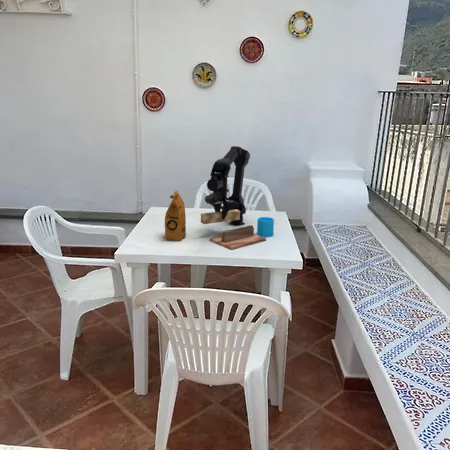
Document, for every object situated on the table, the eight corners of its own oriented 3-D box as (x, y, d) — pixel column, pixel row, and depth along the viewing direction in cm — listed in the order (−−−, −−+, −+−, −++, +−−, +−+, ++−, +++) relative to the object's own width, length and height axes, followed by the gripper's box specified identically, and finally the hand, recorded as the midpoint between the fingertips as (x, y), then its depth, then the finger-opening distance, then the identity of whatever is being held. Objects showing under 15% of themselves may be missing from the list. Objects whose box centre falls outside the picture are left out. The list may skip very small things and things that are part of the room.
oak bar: (203, 224, 213) (203, 215, 211) (200, 222, 216) (200, 213, 214) (239, 219, 222) (239, 211, 221) (236, 217, 225) (236, 209, 224)
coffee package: (161, 240, 209) (160, 195, 203) (168, 233, 221) (168, 189, 214) (182, 242, 207) (181, 196, 201) (188, 234, 219) (188, 190, 213)
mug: (272, 237, 217) (273, 221, 215) (255, 236, 219) (256, 220, 216) (274, 230, 228) (275, 215, 226) (258, 229, 230) (259, 214, 228)
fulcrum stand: (209, 240, 210) (209, 228, 209) (243, 232, 224) (243, 221, 222) (231, 249, 199) (232, 237, 197) (265, 240, 213) (266, 228, 211)
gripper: (196, 186, 216) (196, 216, 220) (221, 192, 202) (220, 225, 207) (214, 183, 223) (213, 213, 227) (238, 189, 209) (237, 221, 214)
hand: (220, 218), depth 218 cm, fingers closed on oak bar, 4 cm apart
